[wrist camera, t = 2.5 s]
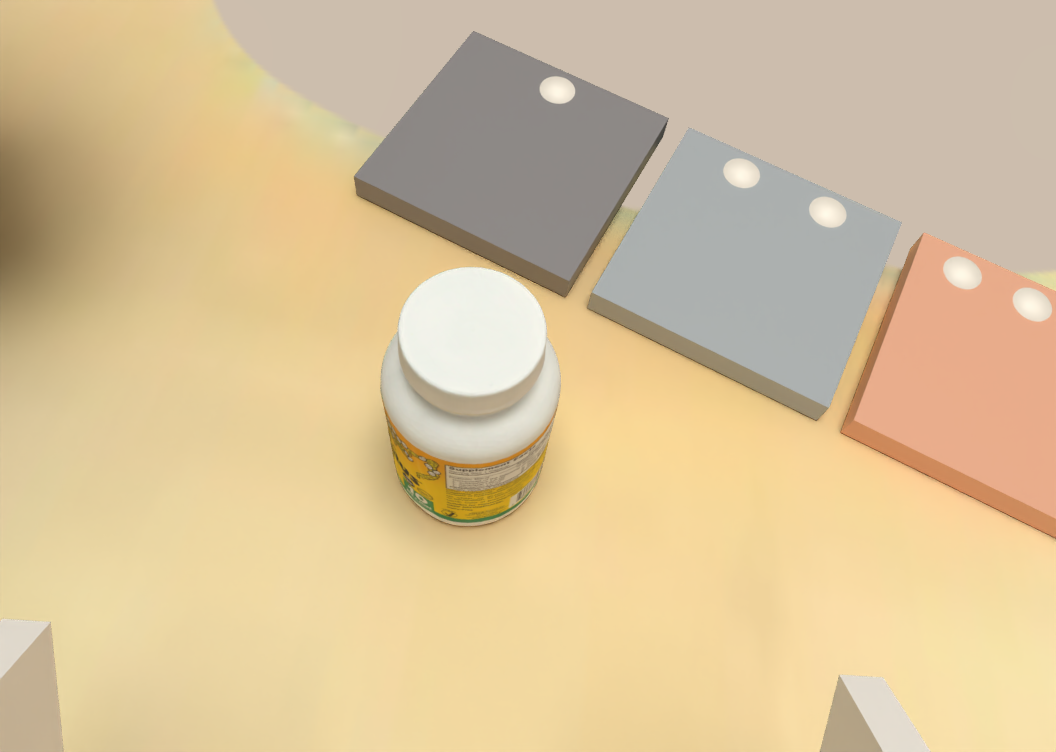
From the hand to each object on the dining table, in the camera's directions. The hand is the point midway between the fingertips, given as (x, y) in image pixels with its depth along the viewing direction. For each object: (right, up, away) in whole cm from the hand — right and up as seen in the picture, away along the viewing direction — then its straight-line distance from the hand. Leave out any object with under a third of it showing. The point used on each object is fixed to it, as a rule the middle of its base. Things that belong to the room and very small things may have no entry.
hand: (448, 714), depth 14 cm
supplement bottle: (-1, +3, +17) cm, 17 cm away
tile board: (+10, +10, +21) cm, 26 cm away
